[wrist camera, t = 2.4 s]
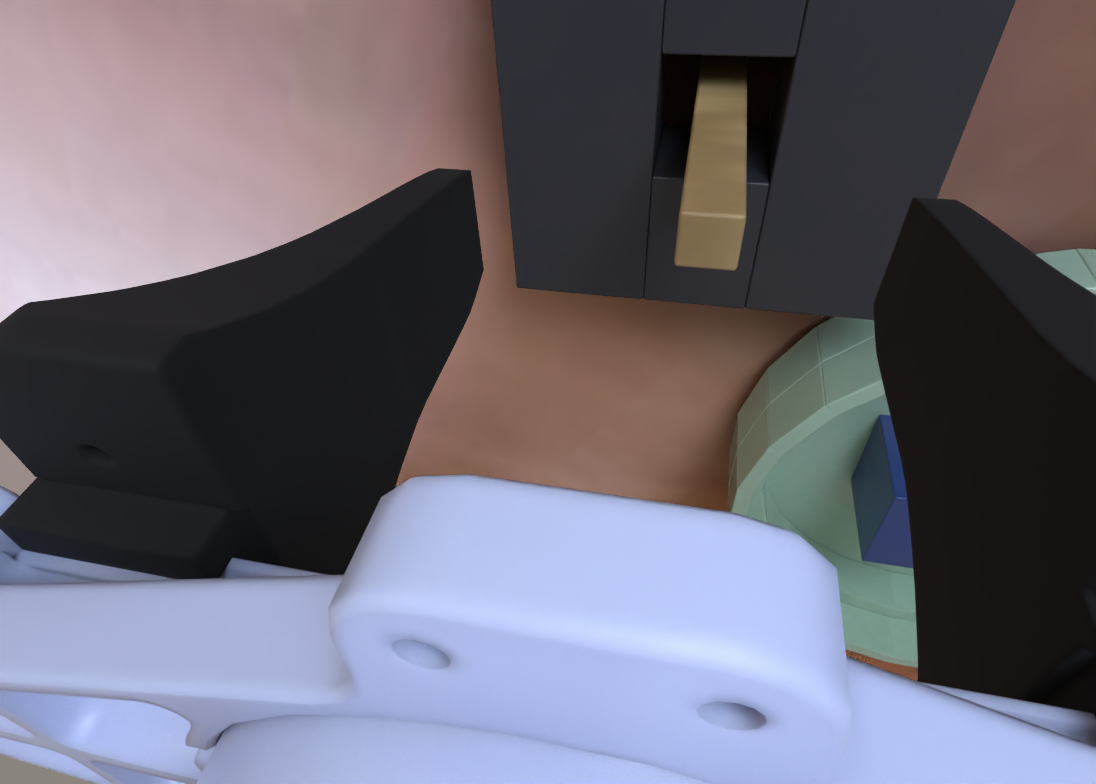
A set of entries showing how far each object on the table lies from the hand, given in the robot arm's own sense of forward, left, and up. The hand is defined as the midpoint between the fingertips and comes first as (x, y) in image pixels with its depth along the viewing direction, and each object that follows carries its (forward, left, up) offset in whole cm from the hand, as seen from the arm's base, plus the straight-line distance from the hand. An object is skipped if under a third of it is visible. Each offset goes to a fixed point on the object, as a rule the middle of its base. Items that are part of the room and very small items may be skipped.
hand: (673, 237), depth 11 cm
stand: (-1, +1, -10) cm, 10 cm away
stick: (-1, +1, -10) cm, 10 cm away
